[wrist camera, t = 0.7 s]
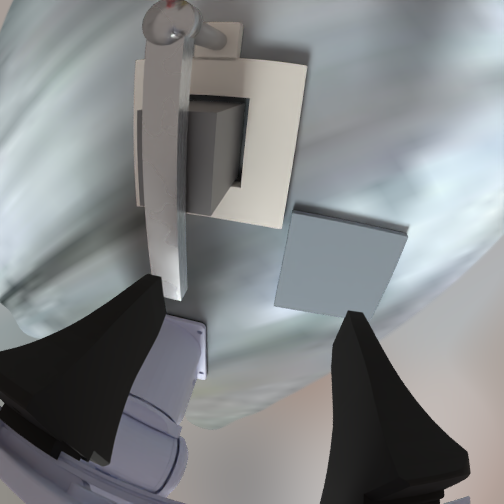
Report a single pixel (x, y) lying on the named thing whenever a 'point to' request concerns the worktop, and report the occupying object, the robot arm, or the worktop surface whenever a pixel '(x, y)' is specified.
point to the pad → (336, 265)
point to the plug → (206, 153)
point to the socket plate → (258, 125)
